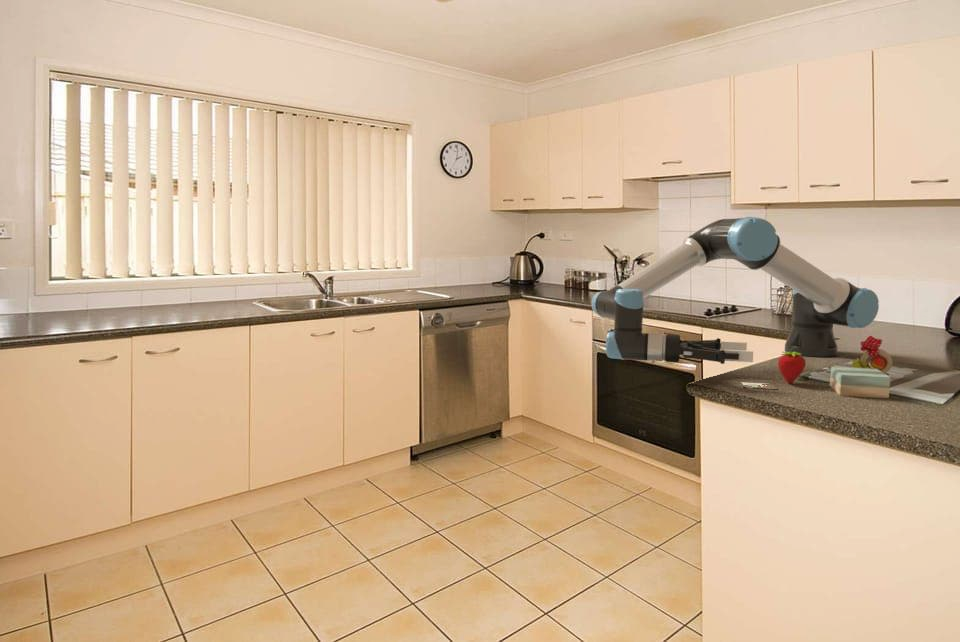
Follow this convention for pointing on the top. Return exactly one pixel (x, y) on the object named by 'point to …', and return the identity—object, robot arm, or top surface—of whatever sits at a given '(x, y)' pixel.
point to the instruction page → (753, 384)
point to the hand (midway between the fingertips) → (749, 351)
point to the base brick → (860, 382)
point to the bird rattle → (877, 361)
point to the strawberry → (791, 365)
